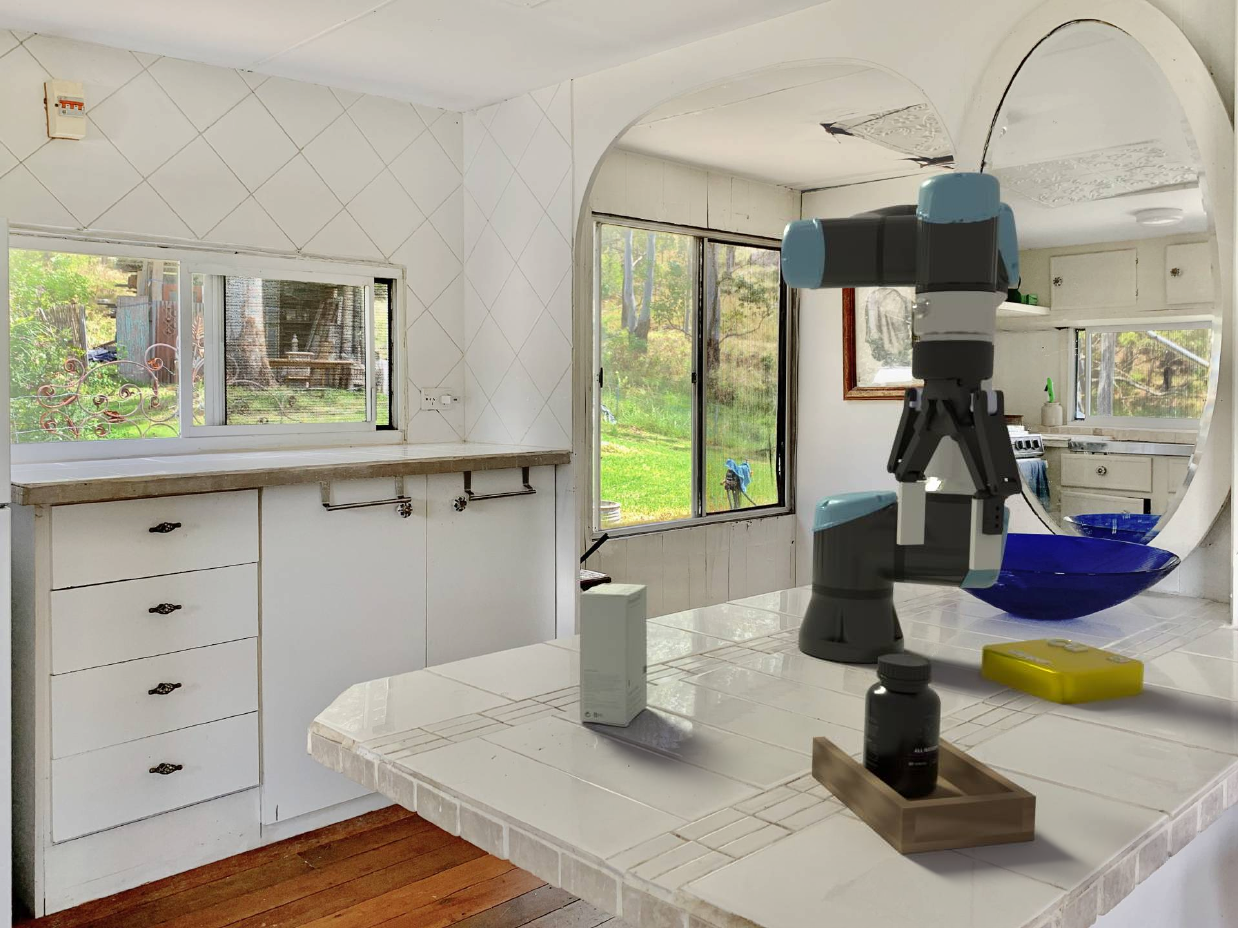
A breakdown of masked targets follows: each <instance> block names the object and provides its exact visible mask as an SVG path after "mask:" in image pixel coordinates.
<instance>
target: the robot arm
mask: <svg viewBox="0 0 1238 928" xmlns="http://www.w3.org/2000/svg"><path fill="white" fill-rule="evenodd" d="M1016 226H1017V225H1016V219H1015V216H1014V212H1013V208H1012V207H1011V206H1010V205H1009V204H1008V203H1006V202H1004V201H1001V184H1000V181H999V179H998V178H997V177H995V176H994V175H991V174H989V173H984V172H977V171H976V172H972V171H971V172H970V171H969V172H965V171H964V172H963V171H962V172H950V173H943V174H937V175H933V176H931V177H928V178H926V179H924V181H922V183H921V184H920V185H919V190H918V201H917V204H898V205H891V206H887V207H881V208H878V209H874V210H870V211H865V212H859V213H856V214H853V215H850V216H849V217H836V218H835V217H833V218H817V217H813V218H809V219H802V220H801V219H799V220H792V221H790V222H788V223H787V224H786V226H785V227H784V229H783V233H782V240H781V253H780V254H781V257H780V259H781V271H782V277H783V281H784V282H785V285H786V286H788V287H789V288H792V289H808V290H810V291H811V290H813V291H815V290H819V289H820V290H821V289H822V290H823V289H825V290H826V289H847V288H848V289H853V288H901V287H902V288H906V287H907V288H914V294H915V298H914V304H913V305H912V312H913V313H914V317H913V321H914V322H913V333H914V335H915V336H917V337H919V338H920V339H919V340H920V341H915V342H914V344H912V357H911V360H912V362H911V375H912V377H913V378H914V379H916V380H923V382H924V383H923V387H906V388H905V391H904V396H903V397H904V398H903V409H902V412H901V416H900V420H899V421H898V422H899V423H898V427H897V429H896V433H895V436H894V441H893V444H892V448H891V449H890V455H889V458H888V461H887V463H886V464H887V465H886V471H887V473H888V474H893V475H894V478H895V481H896V482H898V495H897V492H896V491H894V490H867V491H856V492H847V493H838V494H833V495H828V496H825V497H823V498H821V499H820V500H819V501H818V502H817V503H816V505H815V509H814V517H813V526H812V529H811V531H812V532H813V539H812V540H813V542H812V543H813V545H812V572H811V574H812V576H811V577H812V579H811V581H812V582H811V596H810V599H809V602H808V605H807V608H806V610H805V614H804V616H803V618H802V621H801V623H800V627H799V631H798V636H797V638H798V642H797V644H798V645H797V646H798V649H799V650H800V651H802V652H803V653H804V654H808V655H809V656H810V655H811V656H813V657H816V658H817V657H818V658H821V659H824V660H829V661H830V660H832V661H836V662H837V661H838V662H843V663H844V662H846V663H863V664H864V663H865V664H867V663H868V664H870V663H872V664H873V663H878V658H879V657H880V656H882V655H885V654H905V637H904V633H903V630H902V626H901V623H900V620H899V617H898V612H897V608H896V605H895V602H894V590H895V589H894V585H895V584H894V583H898V584H899V583H900V584H911V585H924V586H925V585H928V586H939V587H940V586H941V587H950V588H951V587H954V588H958V589H961V590H962V589H964V588H966V589H967V588H968V589H969V588H970V589H987V588H990V587H992V586H994V585H995V584H996V582H997V581H998V579H999V575H1000V571H1001V567H1002V563H1003V558H1004V554H1005V547H1006V543H1007V538H1008V537H1007V536H1008V531H1009V521H1010V516H1011V510H1010V508H1009V507H1008V506H1006V505H1005V502H1006V500H1008V499H1009V497H1011V496H1014V495H1020V494H1022V491H1023V483H1022V480H1021V476H1020V472H1019V468H1018V463H1017V459H1016V457H1015V456H1016V455H1015V451H1014V447H1013V444H1012V440H1011V435H1010V431H1009V428H1008V424H1007V420H1006V416H1005V395H1004V391H1002V390H1001V389H999V390H998V389H994V390H993V381H994V377H993V375H994V361H995V360H994V359H995V333H997V330H996V329H997V328H996V323H997V309H998V308H999V307H1000V306H1001V305H1002V304H1003V303H1004V302H1005V301H1006V300H1007V299H1008V289H1009V287H1011V288H1012V287H1014V286H1016V285H1018V284H1019V282H1020V263H1019V245H1018V244H1019V243H1018V233H1017V227H1016ZM1006 479H1007V480H1006Z"/></svg>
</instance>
